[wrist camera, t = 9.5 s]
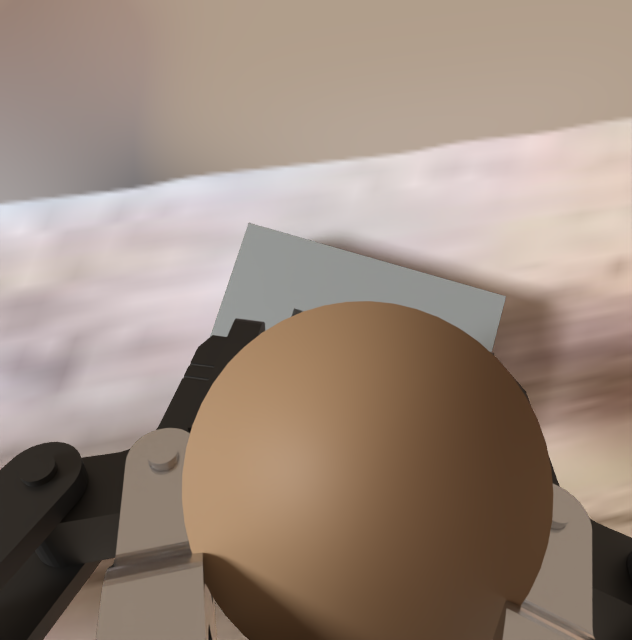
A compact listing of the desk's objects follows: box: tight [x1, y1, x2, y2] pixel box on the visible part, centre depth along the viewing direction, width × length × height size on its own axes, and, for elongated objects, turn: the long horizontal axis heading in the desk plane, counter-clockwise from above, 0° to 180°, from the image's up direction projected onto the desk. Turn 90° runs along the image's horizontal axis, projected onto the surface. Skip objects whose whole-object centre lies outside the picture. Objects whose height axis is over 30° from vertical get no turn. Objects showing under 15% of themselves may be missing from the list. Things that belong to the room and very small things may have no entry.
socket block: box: [210, 223, 506, 352], centre depth 27 cm, size 15×15×5 cm
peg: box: [182, 301, 553, 640], centre depth 11 cm, size 5×5×10 cm
